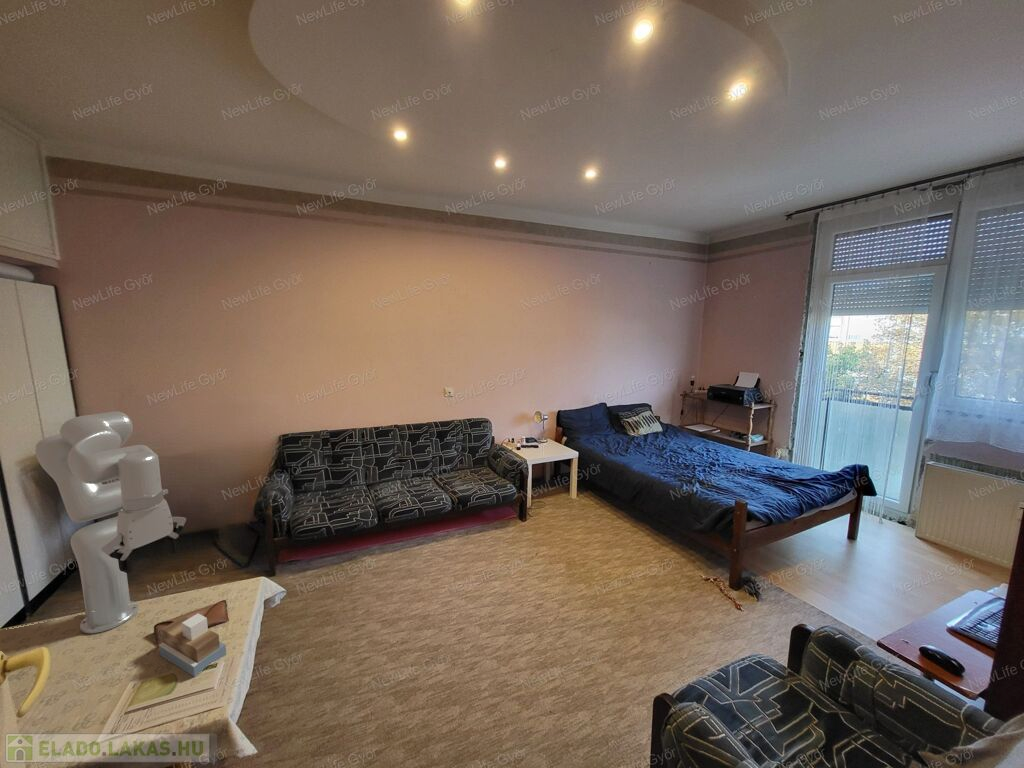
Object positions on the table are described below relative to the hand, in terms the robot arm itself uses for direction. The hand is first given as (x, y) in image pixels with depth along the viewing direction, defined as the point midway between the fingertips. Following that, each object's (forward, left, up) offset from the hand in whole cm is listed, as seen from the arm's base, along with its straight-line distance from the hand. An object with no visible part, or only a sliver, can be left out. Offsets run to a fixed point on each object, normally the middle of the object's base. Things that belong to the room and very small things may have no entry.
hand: (150, 561), depth 104 cm
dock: (+5, +5, -30) cm, 31 cm away
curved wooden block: (+4, +5, -27) cm, 28 cm away
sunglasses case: (-6, +11, -31) cm, 34 cm away
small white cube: (+6, +6, -23) cm, 25 cm away
